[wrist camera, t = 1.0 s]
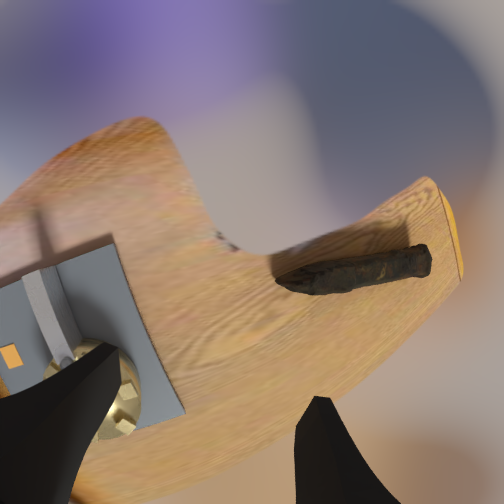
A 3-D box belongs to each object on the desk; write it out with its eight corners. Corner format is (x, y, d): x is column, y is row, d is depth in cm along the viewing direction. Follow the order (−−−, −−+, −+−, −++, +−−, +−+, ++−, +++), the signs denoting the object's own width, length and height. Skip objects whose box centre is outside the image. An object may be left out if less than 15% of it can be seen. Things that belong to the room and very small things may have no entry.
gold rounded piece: (156, 406, 21) (159, 432, 18) (81, 427, 19) (74, 453, 15) (89, 251, 19) (76, 253, 16) (10, 283, 17) (-12, 291, 13)
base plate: (49, 445, 18) (47, 450, 18) (-27, 301, 16) (-31, 302, 15) (184, 409, 23) (186, 414, 23) (114, 243, 21) (113, 243, 20)
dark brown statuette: (409, 243, 32) (438, 243, 28) (409, 276, 33) (437, 279, 28) (271, 249, 26) (295, 250, 22) (272, 294, 26) (296, 303, 22)
